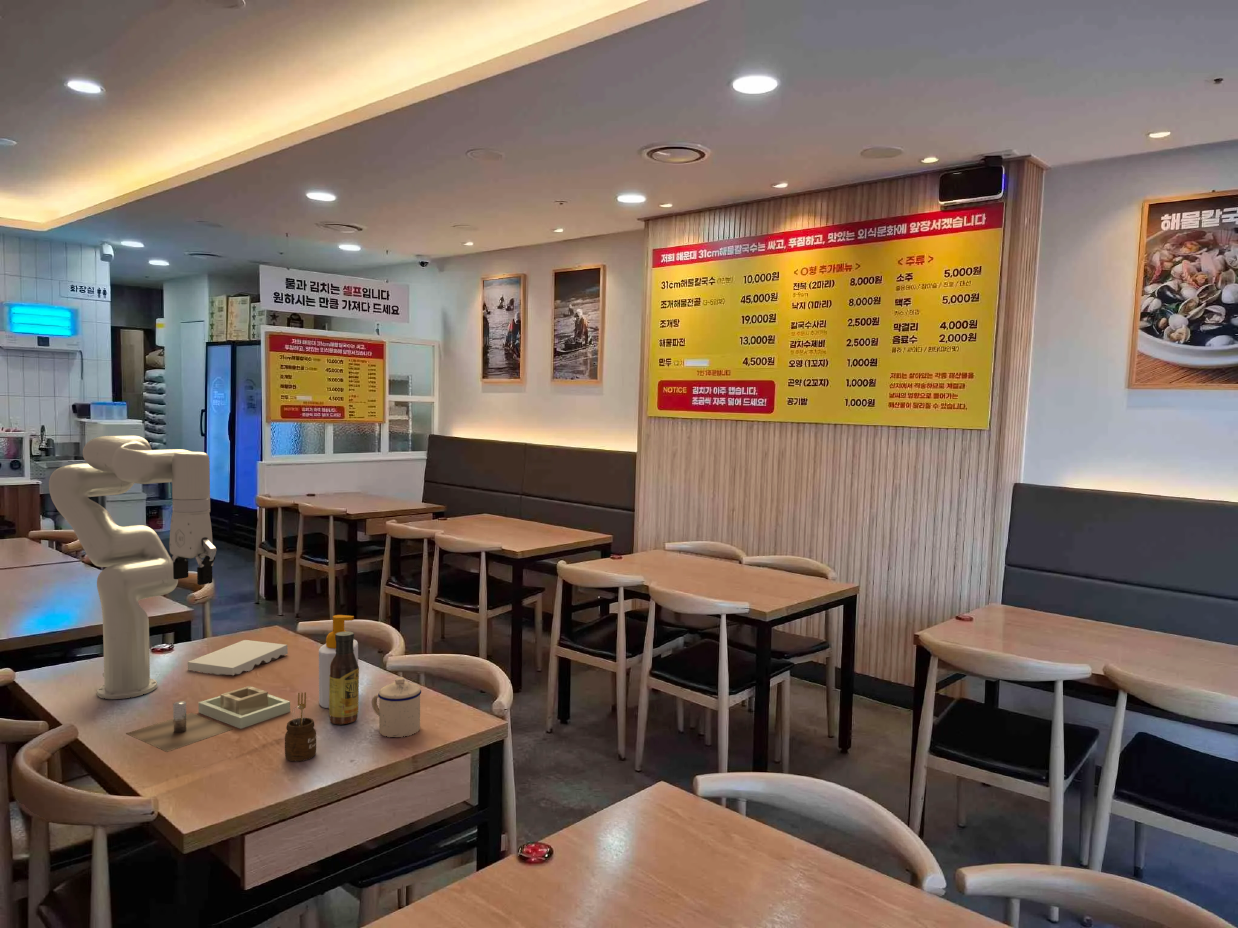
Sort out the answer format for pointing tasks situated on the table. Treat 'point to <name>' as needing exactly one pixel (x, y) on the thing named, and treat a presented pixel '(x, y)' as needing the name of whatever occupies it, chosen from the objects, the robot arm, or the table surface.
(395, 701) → the teacup with lid
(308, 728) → the utensil holder
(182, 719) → the cylinder
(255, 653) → the cream wavy-edged slab
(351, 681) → the sauce bottle
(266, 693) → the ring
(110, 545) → the robot arm
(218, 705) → the tray
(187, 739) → the stake board
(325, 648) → the soap bottle
